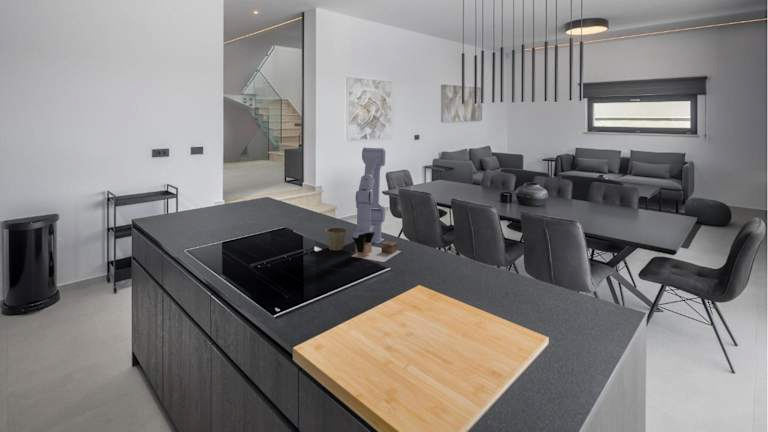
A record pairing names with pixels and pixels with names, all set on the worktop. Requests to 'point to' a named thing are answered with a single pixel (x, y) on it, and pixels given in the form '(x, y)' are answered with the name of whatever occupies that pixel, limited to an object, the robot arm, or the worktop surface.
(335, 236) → the flower pot
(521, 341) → the worktop surface
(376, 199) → the robot arm
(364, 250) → the terracotta block
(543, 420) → the worktop surface
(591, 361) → the worktop surface
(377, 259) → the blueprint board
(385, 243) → the walnut block
